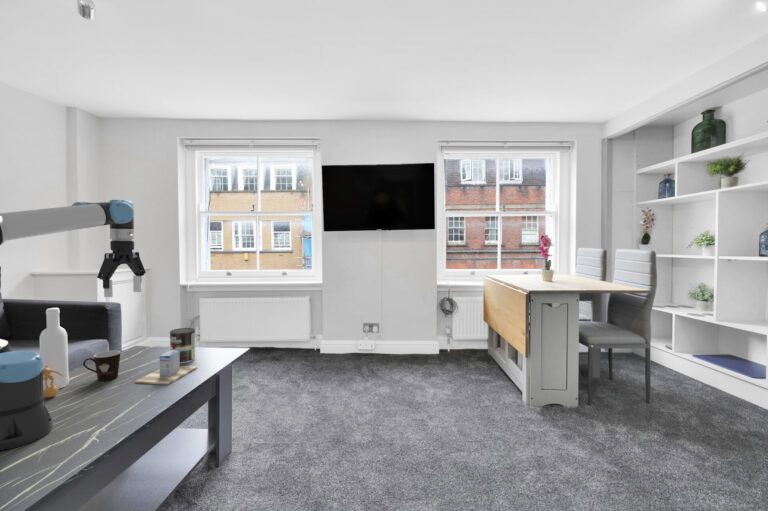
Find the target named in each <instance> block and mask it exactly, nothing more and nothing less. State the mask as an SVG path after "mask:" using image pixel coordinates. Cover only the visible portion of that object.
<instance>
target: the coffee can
mask: <svg viewBox="0 0 768 511" xmlns="http://www.w3.org/2000/svg"><path fill="white" fill-rule="evenodd" d="M195 331H196V329H195V328H194V327H182V328H181V327H179V328H175V329H171V330H170V331H169V336H170V337H169V343H170V344H169V345H170V348H169V349H170V350H179V351H180V365H181V364H182V363H183V364H187V363H190V362H193V361H195V360H196V343H195V342H196V339H195V338H196V332H195Z"/></svg>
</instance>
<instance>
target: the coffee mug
mask: <svg viewBox="0 0 768 511" xmlns="http://www.w3.org/2000/svg"><path fill="white" fill-rule="evenodd" d="M87 361H92V362H93V363H94V366H95V369H92V368H91V367H88V366H87V365H86V362H87ZM120 361H121V351H120V350H107V351H102V352H98V353H96V354H94V355H93V358H91V357H89V358H86V359H85V360H84V361H83V363H82V365H83V367H84V368H86V369H87V370H89V371H91V372H94V373H95V374H96V376H97V381H98V382H110V381H113V380H115V379H117V378H118V377H119V369H120V363H121V362H120Z"/></svg>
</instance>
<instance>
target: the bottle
mask: <svg viewBox="0 0 768 511" xmlns="http://www.w3.org/2000/svg"><path fill="white" fill-rule="evenodd" d="M60 313H61V311H60V308H59V307H51V308H47V309H46V310H45V315H46V327H45V329H43V330H42V331H41V333H40V335H39V354H40V355H41V357H42V362H43V365H44V366H43V367H44V368H45V367H46V366H47V365H48V366H49V368H50V369H51V370H55V371H58V372H59V373H61V374H62V375H63V377H62V376H61V375H59V374H58V373H55V372H51V373H50V376H51V375H52V376H53V378H54V381H53V383H52V385H54V386H56V387H57V388H58V390H60V389H63V388H65V387H67V386H69V384H70V376H69V351H68V350H69V345H68V344H69V343H68V332H67V331H66V329H65V328H63V327H62V326H60V325H61V324H60V323H61V322H60ZM44 368H43V369H44ZM43 376H44V375H43ZM51 381H52V380H50V379H49V378H48V380H47V385H48V386H51ZM45 382H46V381H44V379H43V391H44V390H45V388H46V385H45Z"/></svg>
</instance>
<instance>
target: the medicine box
mask: <svg viewBox="0 0 768 511" xmlns="http://www.w3.org/2000/svg"><path fill="white" fill-rule="evenodd" d="M158 358H159V360H158V361H159V369H160V377H171V376H172V375H173V374H175V373H176V372H177V371H178V370H180V366H181V364H180V351H179V350H168V351H166V352H164V353H163V354H161V355H159V357H158Z"/></svg>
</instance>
